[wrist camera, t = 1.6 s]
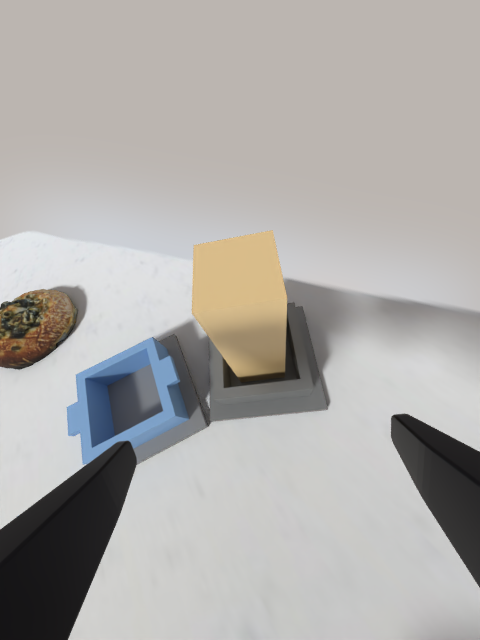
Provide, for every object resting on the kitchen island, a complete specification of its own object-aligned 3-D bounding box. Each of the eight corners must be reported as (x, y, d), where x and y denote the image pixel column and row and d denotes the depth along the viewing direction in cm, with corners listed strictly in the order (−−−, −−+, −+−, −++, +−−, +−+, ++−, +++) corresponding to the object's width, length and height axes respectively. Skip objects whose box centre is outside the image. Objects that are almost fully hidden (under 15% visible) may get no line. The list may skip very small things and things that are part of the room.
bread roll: (-15, 385, 26) (-70, 366, 22) (16, 314, 33) (-21, 291, 29) (78, 354, 27) (41, 330, 23) (90, 290, 33) (64, 264, 29)
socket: (326, 410, 19) (335, 403, 16) (212, 421, 20) (198, 418, 17) (301, 309, 24) (304, 289, 21) (210, 323, 25) (199, 306, 22)
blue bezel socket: (208, 426, 20) (194, 423, 17) (103, 482, 19) (68, 490, 16) (176, 336, 25) (160, 321, 22) (91, 378, 24) (62, 369, 21)
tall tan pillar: (284, 377, 20) (287, 298, 9) (241, 382, 21) (191, 313, 10) (277, 336, 22) (272, 230, 11) (238, 342, 23) (193, 245, 12)
